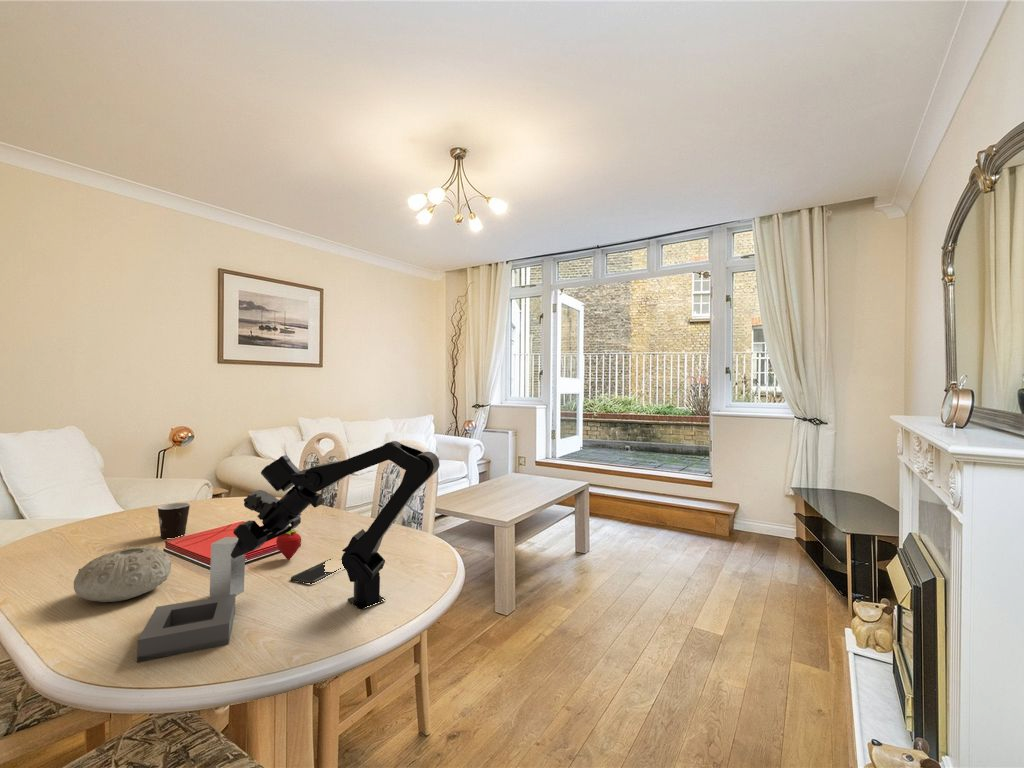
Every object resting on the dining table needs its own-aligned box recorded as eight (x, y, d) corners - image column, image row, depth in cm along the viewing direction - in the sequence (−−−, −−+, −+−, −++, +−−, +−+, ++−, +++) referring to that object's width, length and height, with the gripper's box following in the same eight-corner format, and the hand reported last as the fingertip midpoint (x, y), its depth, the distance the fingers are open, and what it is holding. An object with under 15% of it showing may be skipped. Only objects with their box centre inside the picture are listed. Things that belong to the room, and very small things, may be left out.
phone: (353, 562, 128) (312, 582, 114) (353, 566, 128) (311, 587, 114) (331, 558, 131) (288, 577, 117) (331, 562, 131) (288, 581, 117)
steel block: (244, 591, 110) (245, 537, 111) (229, 600, 105) (231, 544, 106) (224, 590, 111) (226, 536, 111) (209, 599, 106) (211, 543, 106)
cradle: (235, 612, 100) (235, 593, 100) (228, 643, 87) (229, 623, 88) (156, 626, 94) (156, 606, 94) (136, 662, 81) (137, 640, 81)
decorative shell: (51, 615, 97) (53, 568, 98) (102, 581, 114) (103, 542, 115) (149, 606, 102) (150, 561, 102) (183, 575, 119) (184, 537, 119)
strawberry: (288, 565, 127) (289, 529, 127) (270, 560, 130) (271, 525, 131) (306, 558, 133) (307, 524, 133) (288, 554, 136) (289, 520, 136)
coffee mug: (160, 533, 152) (161, 504, 153) (191, 531, 156) (192, 501, 156) (150, 544, 142) (151, 512, 142) (183, 541, 145) (184, 510, 146)
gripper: (291, 473, 117) (248, 514, 118) (243, 488, 99) (193, 537, 99) (319, 505, 117) (276, 546, 117) (276, 526, 98) (226, 575, 98)
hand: (245, 549), depth 108 cm, fingers open, 9 cm apart
